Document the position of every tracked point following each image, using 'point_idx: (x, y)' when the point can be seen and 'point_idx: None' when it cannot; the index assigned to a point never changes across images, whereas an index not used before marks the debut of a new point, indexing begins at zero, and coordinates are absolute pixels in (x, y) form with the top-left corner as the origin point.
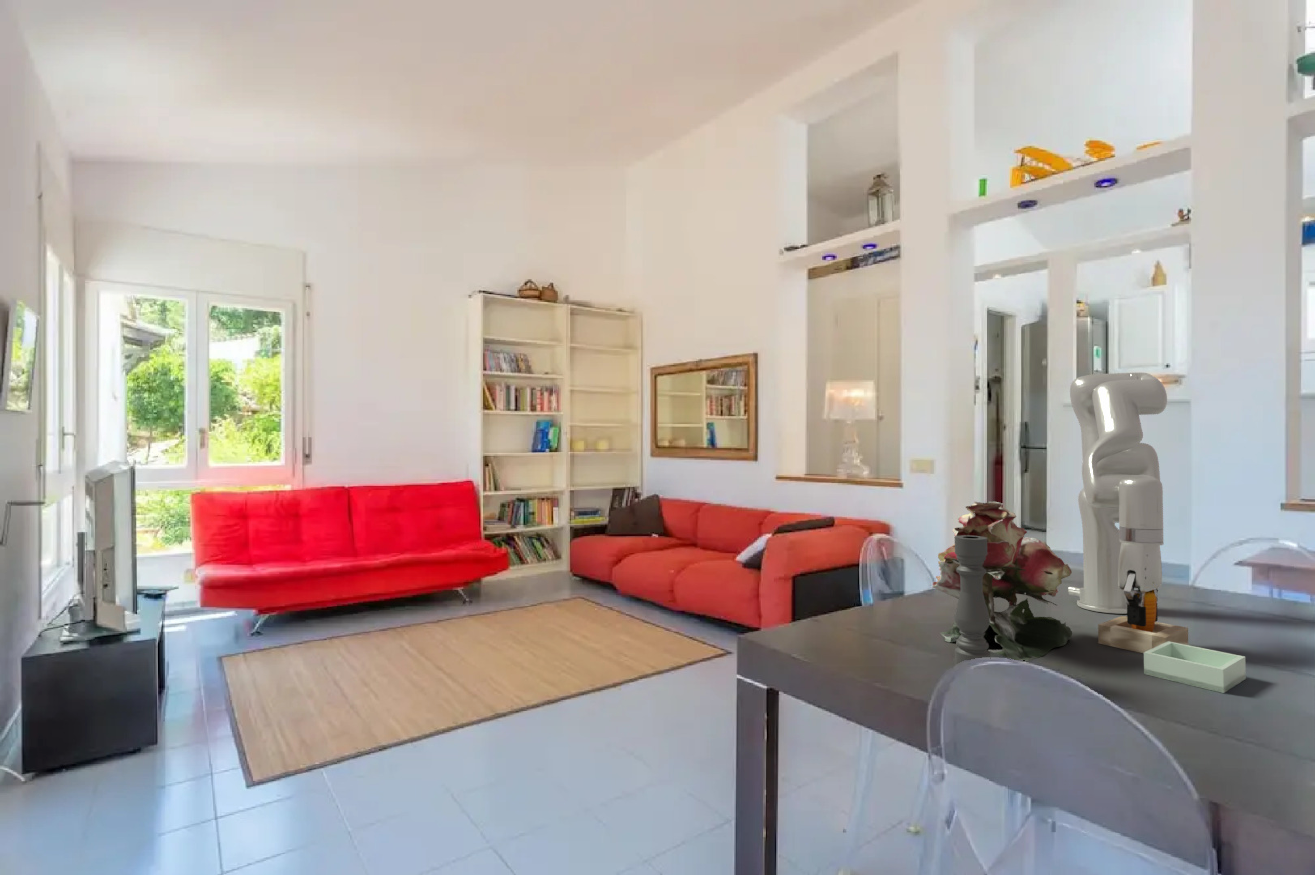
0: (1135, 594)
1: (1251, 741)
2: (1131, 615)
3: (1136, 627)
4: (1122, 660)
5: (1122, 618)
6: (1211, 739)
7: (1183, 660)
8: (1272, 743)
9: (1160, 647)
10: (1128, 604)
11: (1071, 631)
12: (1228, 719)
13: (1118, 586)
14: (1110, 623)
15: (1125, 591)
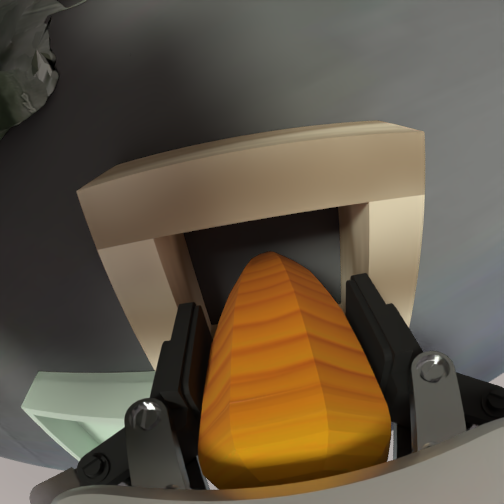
0: (212, 483)
1: (32, 452)
2: (160, 364)
3: (224, 307)
4: (52, 313)
5: (362, 164)
6: (4, 436)
7: (64, 447)
8: (46, 460)
9: (79, 420)
10: (136, 411)
11: (3, 130)
12: (44, 445)
13: (53, 501)
14: (162, 204)
15: (37, 500)
